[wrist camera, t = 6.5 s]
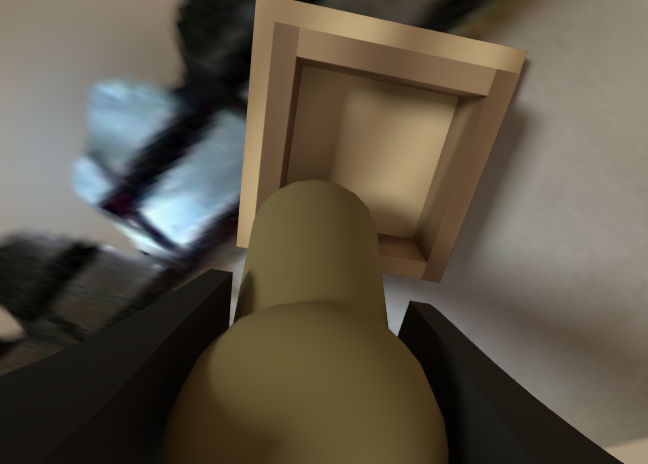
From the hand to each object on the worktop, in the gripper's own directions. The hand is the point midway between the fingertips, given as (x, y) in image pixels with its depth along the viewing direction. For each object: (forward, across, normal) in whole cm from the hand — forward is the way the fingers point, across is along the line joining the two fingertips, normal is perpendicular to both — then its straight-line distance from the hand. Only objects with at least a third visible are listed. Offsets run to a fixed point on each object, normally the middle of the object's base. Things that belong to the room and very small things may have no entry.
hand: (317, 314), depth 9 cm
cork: (+6, 0, 0) cm, 6 cm away
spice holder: (+10, -2, -3) cm, 11 cm away
